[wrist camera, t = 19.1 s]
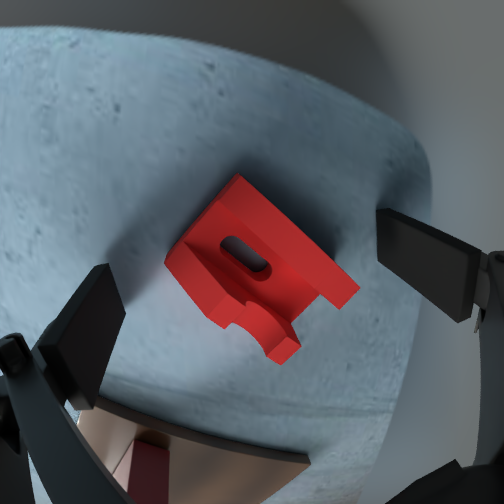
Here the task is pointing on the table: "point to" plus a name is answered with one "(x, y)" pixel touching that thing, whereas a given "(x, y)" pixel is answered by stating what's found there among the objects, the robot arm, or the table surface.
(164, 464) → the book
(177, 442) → the stand
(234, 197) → the bracket
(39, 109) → the table surface
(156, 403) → the table surface
